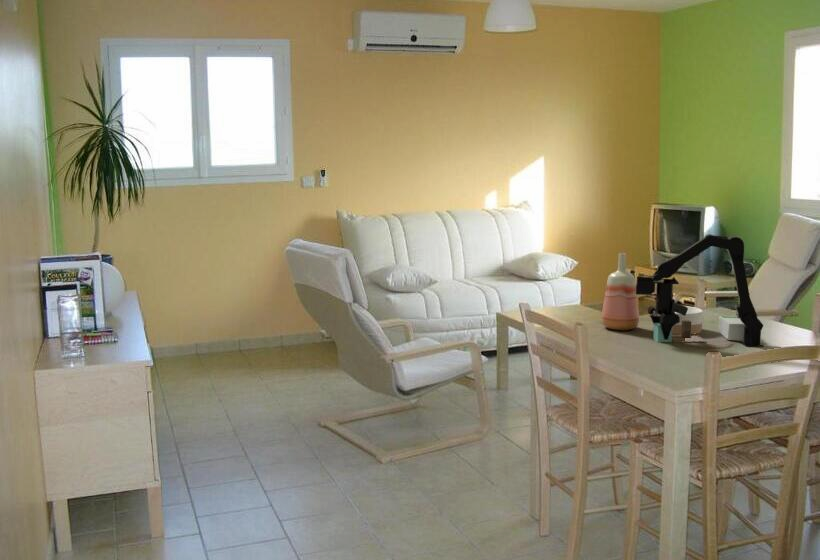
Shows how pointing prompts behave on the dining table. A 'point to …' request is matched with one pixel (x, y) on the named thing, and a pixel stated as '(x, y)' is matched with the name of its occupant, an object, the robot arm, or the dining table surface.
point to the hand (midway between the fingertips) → (662, 337)
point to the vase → (620, 299)
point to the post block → (683, 332)
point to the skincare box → (731, 328)
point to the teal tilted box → (660, 334)
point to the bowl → (693, 316)
